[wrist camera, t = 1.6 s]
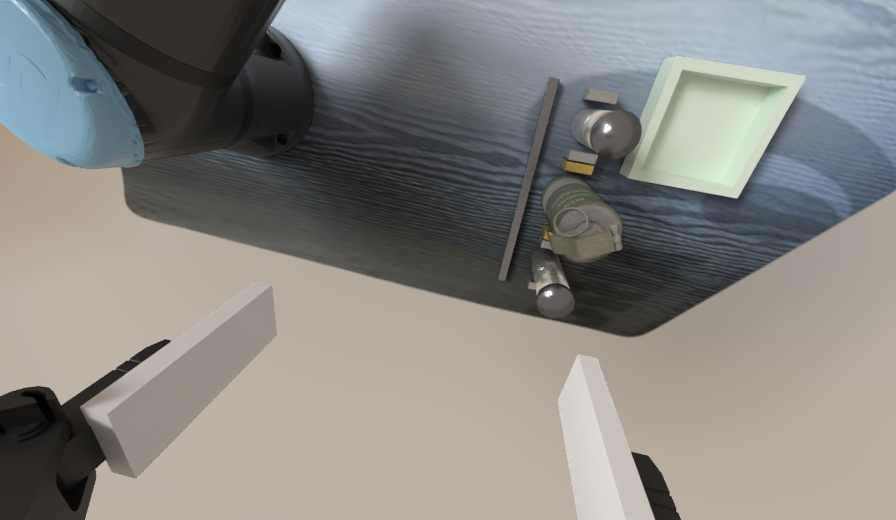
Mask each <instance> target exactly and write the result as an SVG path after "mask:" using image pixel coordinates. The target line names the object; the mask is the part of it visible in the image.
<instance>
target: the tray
mask: <svg viewBox="0 0 896 520" xmlns="http://www.w3.org/2000/svg"><path fill="white" fill-rule="evenodd" d="M805 78H806V76H802V75H795V74H789V73H783V72H776V71H770V70H764V69H757V68H751V67H745V66H738V65H732V64H726V63H720V62H713V61H707V60H701V59H694V58H688V57H682V56H674V57H670V58H666V59H663V61H662V63H661V66H660V68H659V71H658V74H657V76H656V79H655V81H654V84H653V87H652V89H651V92H650V94H649V97H648V100H647V102H646V105H645V107H644V110H643V113H642V115H641V118H640V120H639V121H640V123H641V127H642V134H641V138H640V141H639V143H638V145H637V146H636V147H635V149H634V150H633V151H632V152H630V153H629V154H628V155H626V157H625V159H624V162H623V165H622V167H621V170H620V172H619V173H620V174H622V175H623V176H625V177H626V178H629V179H634V180H639V181H645V182H650V183H656V184H661V185H667V186H672V187H677V188H683V189H688V190H694V191H699V192H705V193H710V194H715V195H721V196H726V197H732V198H737V199H738V197H739V195H740V193H741V191H742V190H743V188H744V186H745V184H746V183H747V181H748V179H749V177H750V176H751V174H752V172H753V170H754V168H755V167H756V165H757V163H758V161H759V160H760V158H761V156H762V154H763V152H764V151H765V149H766V147H767V145H768V144H769V142H770V140H771V138H772V137H773V135H774V133H775V131H776V129H777V128H778V126H779V124H780V122H781V121H782V119H783V117H784V115H785V114H786V112H787V110H788V108H789V106H790V105H791V103H792V101H793V99H794V98H795V96H796V94H797V92H798V90H799V89H800V87H801V85H802V83H803V82H804V80H805Z"/></svg>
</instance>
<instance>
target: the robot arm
mask: <svg viewBox="0 0 896 520" xmlns="http://www.w3.org/2000/svg"><path fill="white" fill-rule="evenodd" d="M285 1H286V0H0V122H1V123H2V124H4V126H5V127H7V128H8V129H9V130H10V131H11V132H12V133H13V134H15V135H16V136H17V137H18V138H20V139H21V140H22V141H24V142H25V143H26V144H28V145H29V146H31V147H32V148H33V149H35V150H36V151H38V152H40V153H41V154H43V155H45V156H47V157H49V158H51V159H53V160H55V161H58V162H60V163H63V164H66V165H69V166H73V167H80V168H86V169H100V168H113V167H135V166H139V164H141V163H145V162H151V161H156V160H162V159H168V158H173V157H179V156H184V155H190V154H196V153H201V152H207V151H212V150H217V149H226V150H230V151H234V152H238V153H242V154H246V155H251V156H271V155H275V154H280V153H283V152H286V151H288V150H290V149H292V148H294V147H295V146H296V145H297V144H298V143H300V141H301V140H302V139H303V138H304V136H305V135H306V133H307V131H308V129H309V126H310V124H311V120H312V116H313V91H312V85H311V81H310V78H309V75H308V72H307V70H306V67H305V65H304V63H303V61H302V59H301V57H300V56H299V54H298V53H297V51H296V50H295V48H294V47H293V46H292V44H291V43H290V42H289V41H288V40H287V39H286V38H285V37H284V36H283V35H282V34H281V33H280V32H279V31H277V30H276V29H275V28H273V27H272V26H270V25H271V23H272V22H273V20H274V19H275V17H276V15H277V14H278V12H279V11H280V9H281V7H282V6H283V4H284V3H285ZM276 335H277V331H276V322H275V311H274V301H273V291H272V285H270V284H265V283H261V282H256V281H255V282H254V283H252V284H251V285H250V286H248V287H247V288H245V289H244V290H243V291H241V292H240V293H238V294H237V295H236V296H234V297H233V298H231V299H230V300H229V301H227V302H226V303H224V304H223V305H222V306H220V307H219V308H217V309H216V310H215V311H213V312H212V313H210V314H209V315H208V316H206V317H205V318H203V319H202V320H201V321H199V322H198V323H196V324H195V325H194V326H192V327H191V328H189V329H188V330H187V331H185V332H184V333H183V334H181V335H180V336H178V337H177V338H175V339H174V340H173V341H170V340H166V339H165V340H163V341H160V342H158V343H156V344H153V345H151V346H149V347H146V348H145V349H143V350H142V351H140V352H139V353H138V354H136V355H135V356H133V357H132V358H130V360H129V361H126V362H124V363H123V364H121V365H120V366H118V367H117V368H116V370H115V371H114V370H113V371H111V372H110V373H108V374H107V375H105V376H104V377H102V378H101V379H99V380H98V381H96V382H95V383H93V384H92V385H91V386H89V387H88V388H86V389H85V390H83V391H82V392H80V393H79V394H77V395H76V396H75V397H73V398H72V399H70V400H69V401H67V402H66V403H64V404H63V405H60V403H59V401H58V399H57V397H56V395H55V393H54V392H53V391H52V390H51V389H50V388H47V387H40V386H37V387H28V388H23V389H20V390H16V391H12V392H9V393H7V394H5V395H2V396H0V520H85V517H86V513H87V509H88V506H89V502H90V499H91V495H92V492H93V488H94V484H95V481H96V470H95V468H97V467H98V466H99V465H100V464H101V463H102V462H103V461H105V460H106V461H107V463H108V465H109V467H110V469H111V471H112V472H114V473H118V474H121V475H125V476H128V477H132V478H137V477H138V476H139V475H140V474H141V473H142V472H143V471H144V470H145V469H146V468H147V467H148V466H149V465H150V464H151V463H152V462H153V461H154V460H155V458H157V457H158V456H159V455H160V454H161V453H162V452H163V450H164V449H165V448H166V447H167V446H168V445H169V444H170V443H171V442H172V441H173V440H174V439H175V438H176V437H177V436H178V435H179V434H180V433H181V432H182V431H183V430H184V429H185V428H186V427H187V426H188V425H189V424H190V423H191V422H192V421H193V420H194V419H195V418H196V417H197V416H198V415H199V414H200V413H201V412H202V411H203V410H204V409H205V408H206V407H207V406H208V405H209V404H210V403H211V401H213V399H215V398H216V396H218V394H219V393H220V392H221V391H222V390H223V389H224V388H225V387H226V386H227V385H228V384H229V383H230V382H231V381H232V380H233V379H234V378H235V377H236V376H237V375H238V374H239V373H240V372H241V371H242V370H243V369H244V368H245V367H246V366H247V365H248V364H249V363H250V362H251V361H252V360H253V359H254V358H255V357H256V356H257V355H258V354H259V353H260V351H262V349H264V348H265V347H266V346H267V345H268V344H269V343H270V342H271V341H272V339H274V337H275V336H276ZM558 407H559V413H560V418H561V424H562V430H563V436H564V441H565V448H566V453H567V459H568V464H569V470H570V476H571V482H572V488H573V493H574V499H575V505H576V511H577V517H578V520H681V518H680V516H679V514H678V513H677V512H676V507H675V504H674V502H673V499H672V497H671V496H670V495H669V493H670V492H669V490H668V488H667V485H666V483H665V480H664V478H663V476H662V474H661V472H660V471H659V470H658V468H657V467H656V466H655V464H654V463H653V462H652V460H651V459H650V458H649V456H647V455H642V454H638V453H634V452H631V451H630V449H629V446H628V443H627V440H626V437H625V434H624V432H623V429H622V426H621V423H620V420H619V418H618V415H617V412H616V409H615V406H614V404H613V401H612V398H611V396H610V392H609V390H608V387H607V384H606V381H605V378H604V376H603V373H602V370H601V368H600V365H599V362H598V359H597V358H594V357H590V356H585V355H581V354H578V355H577V358H576V360H575V362H574V364H573V367H572V369H571V371H570V374H569V376H568V378H567V381H566V383H565V385H564V388H563V390H562V392H561V395H560V397H559V399H558Z"/></svg>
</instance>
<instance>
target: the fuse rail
mask: <svg viewBox="0 0 896 520" xmlns="http://www.w3.org/2000/svg"><path fill="white" fill-rule="evenodd" d="M558 83H559V79H555V78H549V80H548V83H547V87H546V91H545V95H544V99H543V103H542V107H541V111H540V115H539V119H538V122H537V126H536V130H535V134H534V138H533V142H532V146H531V150H530V154H529V158H528V161H527V165H526V169H525V173H524V177H523V181H522V185H521V189H520V193H519V197H518V200H517V204H516V208H515V212H514V216H513V220H512V224H511V228H510V232H509V236H508V239H507V243H506V247H505V251H504V255H503V259H502V263H501V267H500V271H499V275H498V280H502V281H505V279H506V276H507V272H508V268H509V265H510V261H511V257H512V253H513V250H514V246H515V242H516V239H517V235H518V231H519V227H520V224H521V220H522V216H523V213H524V209H525V205H526V201H527V198H528V194H529V190H530V187H531V183H532V179H533V175H534V172H535V168H536V164H537V161H538V157H539V153H540V149H541V146H542V142H543V138H544V135H545V131H546V127H547V124H548V120H549V116H550V112H551V109H552V105H553V101H554V98H555V94H556V90H557V86H558ZM619 94H620V93H615V92H609V91H603V90H597V89H591V88H589V89H584V92H583V96H582V99H583V100H589V101H595V102H601V103H607V104H616V103H617V100H618V97H619ZM570 129H571V134H572V136H573V138H574V139H575V140H576V141H578V142H580V143H581V144H583V145H585V146H587V147H588V148H590V149H592V150H594V151H595V152H596V153H597V154H598V155H600V156H602V157H604V158H607V159H618V158H622V157H624V156H626V155H628V154H629V153H630V152H632V151H633V150H634V149H635V147H636V146H637V145H638V143H639V141H640V138H641V134H642V127H641V123H640V121H639V119H638V118H637V117H636V116H635V115H634V114H633V113H631V112H628V111H621V110H615V111H608V110H598V109H585V110H583V111H581V112H579V113H578V114H577V115H576V116H575V117H574V119H573V120H572V123H571V128H570ZM597 154H595V153H594V152H590V151H585V150H579V149H574V148H568V147H567V148H566V152H565V155H564V156H565V157H566V158H563V162H562V165H561V167H562V168H563V169H564V170H566V171H571V172H577V173H582V174H587V175H591V174H592V172H593V169H594V166H593V165H592V164H595V163H596V160H597V157H598V155H597ZM546 228H547V230H548V233H549V235H553V233H552V230H551V227H550V226H548V225H546ZM539 243H540V247H541V248H539V249H537V250H536V251H535V252H534V253H533V254H532V256H531V264H532V270H533V274H530V273H529V274H528V277H527V285H528V288H529V289H534V290H536V294H537V305H538V309H539V311H540V312H541V313H542V314H543V315H545V316H547V317H549V318H561V317H564V316H566V315H568V314H569V313H570V312H571V311H572V310H573V308H574V305H575V301H574V297H573V294H572V292H571V290H570V289H569V286H568V283H567V280H566V277H565V274H564V271H563V269H562V266H561V263H560V260H559V257H558V254H554V253H553V250H552V248H551V245H550V242H549V239H548V236H547V233H546V229H545V226H544V225H543V228H542V231H541V234H540V238H539Z"/></svg>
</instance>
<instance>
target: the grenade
mask: <svg viewBox="0 0 896 520" xmlns="http://www.w3.org/2000/svg"><path fill="white" fill-rule="evenodd" d="M541 206H542V209H543V211H544V213H545V214H546V216H547V219H548V222H549V225H550V227H551V230H552V233H553V235H549V233H548V230H547V228H546V225H545V222H544V219H543V216H542V213H541V216H542V219H543V223H544V226H545V229H546V233H547V236H548V239H549V242H550V245H551V248H552V250H553V253H554V254H562V255H563V256H564V257H566V258H567V259H569V260H571V261H574V262H579V263H589V262H594V261H597V260H600V259H602V258H604V257H606V256H607V255H609V254H610V253H611V252H614V251H615V250H616V251H619V250H621V249H622V246H623V243H622V239H621V236H622V222H621V219H620V217H619V215H618V214H617V212H616V211H615V210H614V209H613V208H611V207H610V206H608V205H606V204H605V203H604V202H603V201H602V200H601V199H600V198H599V197H598V196H597V195H596V194H595V193H594V191H593V190H592V189H591V188H590V187H589V185H588V184H587V182H586V181H585V180H583V179H582V178H580V177H578V176H576V175H569V174H567V175H561V176H558V177H556V178H554V179H553V180H551V181H550V182H549V183H548V184H547V185H546V186H545V188H544V190H543V192H542V195H541Z"/></svg>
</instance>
